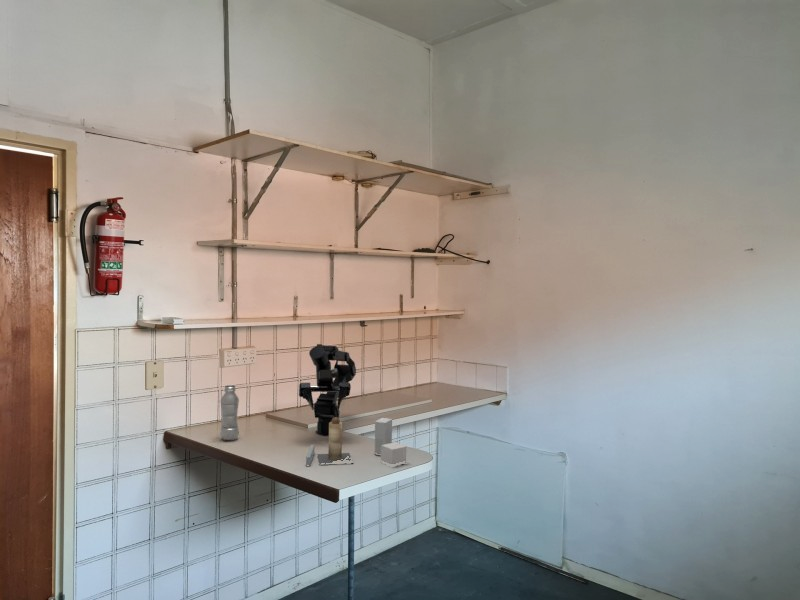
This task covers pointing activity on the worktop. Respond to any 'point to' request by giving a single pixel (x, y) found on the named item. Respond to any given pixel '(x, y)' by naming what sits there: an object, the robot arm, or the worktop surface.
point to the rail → (310, 454)
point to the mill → (335, 439)
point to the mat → (324, 459)
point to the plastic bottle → (229, 414)
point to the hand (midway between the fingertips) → (325, 409)
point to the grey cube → (393, 453)
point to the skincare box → (382, 433)
